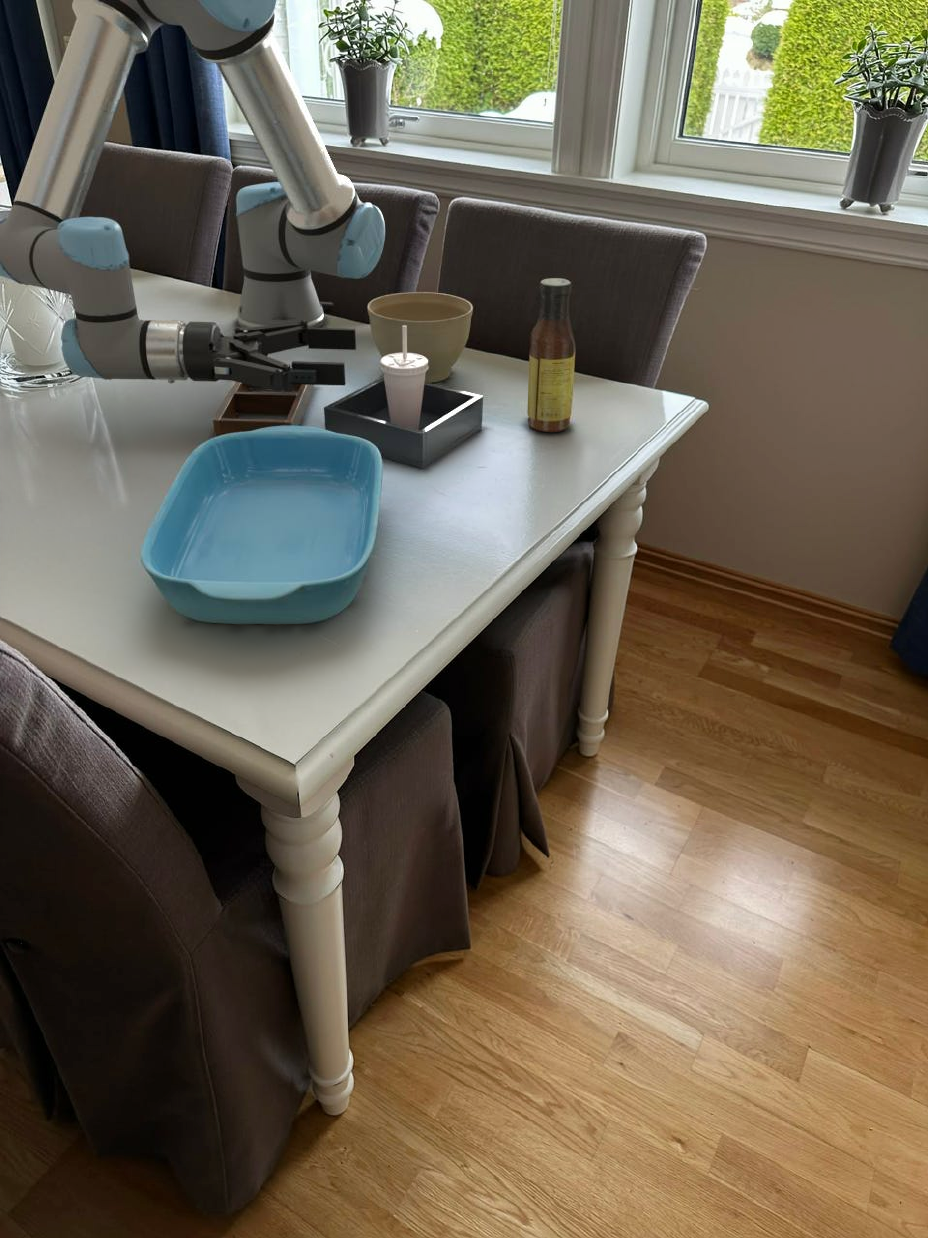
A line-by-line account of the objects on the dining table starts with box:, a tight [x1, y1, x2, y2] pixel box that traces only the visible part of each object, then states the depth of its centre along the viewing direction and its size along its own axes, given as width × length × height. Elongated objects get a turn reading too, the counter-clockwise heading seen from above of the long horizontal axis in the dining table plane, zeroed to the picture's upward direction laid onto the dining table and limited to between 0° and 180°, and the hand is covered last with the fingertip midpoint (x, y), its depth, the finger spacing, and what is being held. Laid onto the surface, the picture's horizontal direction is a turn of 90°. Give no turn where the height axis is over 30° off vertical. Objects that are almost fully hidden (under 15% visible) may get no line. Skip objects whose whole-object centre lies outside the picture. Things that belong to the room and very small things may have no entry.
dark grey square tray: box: [323, 376, 484, 470], centre depth 123 cm, size 16×16×5 cm
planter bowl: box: [367, 291, 474, 384], centre depth 141 cm, size 16×16×11 cm
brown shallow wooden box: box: [212, 381, 315, 437], centre depth 128 cm, size 20×10×3 cm, turn 0°
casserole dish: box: [139, 425, 384, 625], centre depth 96 cm, size 37×22×7 cm, turn 1°
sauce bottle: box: [526, 277, 576, 433], centre depth 123 cm, size 7×6×20 cm
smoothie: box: [379, 325, 428, 430], centre depth 120 cm, size 6×6×14 cm
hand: (350, 355), depth 118 cm, fingers open, 13 cm apart
